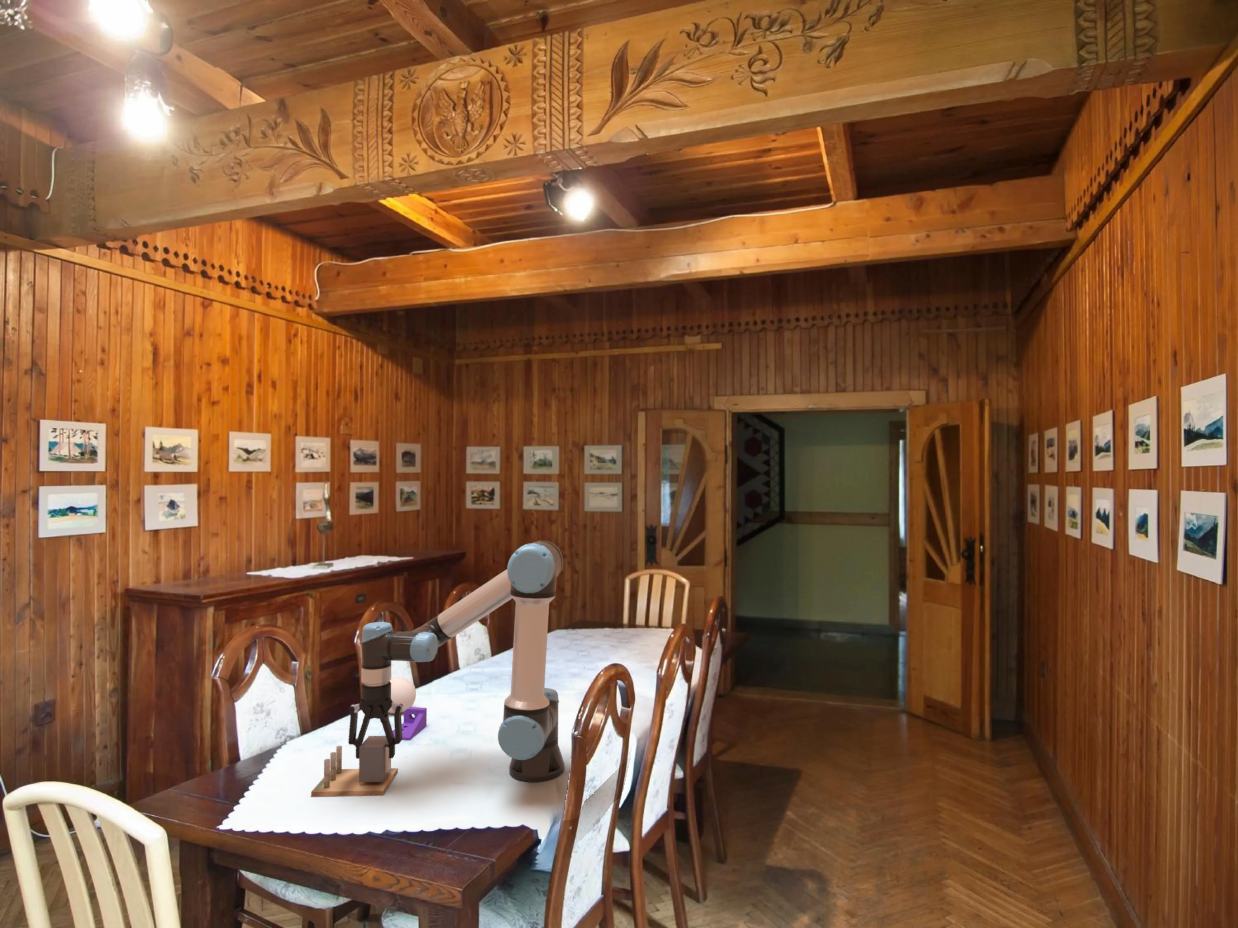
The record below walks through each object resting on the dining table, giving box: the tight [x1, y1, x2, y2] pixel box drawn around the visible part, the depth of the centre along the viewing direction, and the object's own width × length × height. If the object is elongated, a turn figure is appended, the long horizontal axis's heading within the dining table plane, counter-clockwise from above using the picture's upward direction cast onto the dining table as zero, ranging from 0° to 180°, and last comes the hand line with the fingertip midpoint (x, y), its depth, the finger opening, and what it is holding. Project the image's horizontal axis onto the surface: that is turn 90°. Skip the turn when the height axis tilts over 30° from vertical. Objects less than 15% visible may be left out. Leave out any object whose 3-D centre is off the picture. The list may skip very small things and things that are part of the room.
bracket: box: [392, 706, 428, 742], centre depth 226 cm, size 12×7×7 cm, turn 171°
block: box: [358, 735, 391, 782], centre depth 189 cm, size 6×8×9 cm
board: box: [310, 745, 399, 798], centre depth 189 cm, size 18×14×8 cm
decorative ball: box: [388, 677, 417, 715], centre depth 246 cm, size 12×12×12 cm
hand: (375, 769), depth 189 cm, fingers closed on block, 6 cm apart
